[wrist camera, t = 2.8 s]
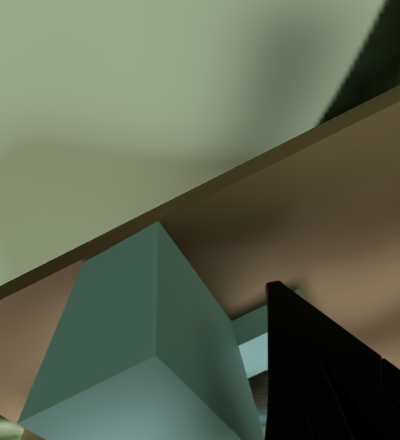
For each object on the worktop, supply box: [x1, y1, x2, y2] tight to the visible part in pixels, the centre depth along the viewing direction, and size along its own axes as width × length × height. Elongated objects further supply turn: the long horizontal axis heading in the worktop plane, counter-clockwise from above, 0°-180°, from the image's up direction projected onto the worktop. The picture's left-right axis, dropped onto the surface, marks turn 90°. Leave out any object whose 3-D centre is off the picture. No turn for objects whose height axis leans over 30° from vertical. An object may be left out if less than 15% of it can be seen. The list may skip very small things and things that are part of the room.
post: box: [248, 370, 268, 437], centre depth 12 cm, size 3×3×4 cm
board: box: [0, 85, 400, 429], centre depth 14 cm, size 18×20×1 cm
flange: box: [17, 221, 305, 440], centre depth 11 cm, size 14×9×5 cm, turn 29°
